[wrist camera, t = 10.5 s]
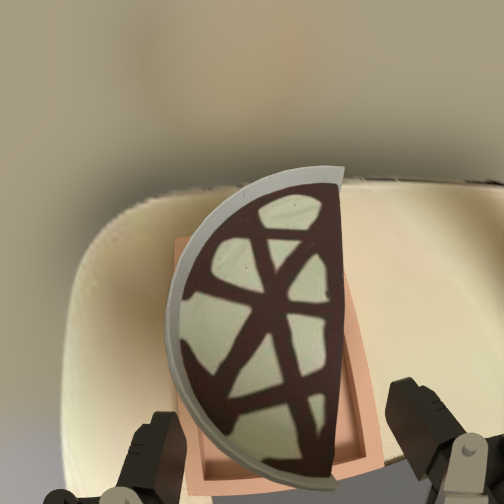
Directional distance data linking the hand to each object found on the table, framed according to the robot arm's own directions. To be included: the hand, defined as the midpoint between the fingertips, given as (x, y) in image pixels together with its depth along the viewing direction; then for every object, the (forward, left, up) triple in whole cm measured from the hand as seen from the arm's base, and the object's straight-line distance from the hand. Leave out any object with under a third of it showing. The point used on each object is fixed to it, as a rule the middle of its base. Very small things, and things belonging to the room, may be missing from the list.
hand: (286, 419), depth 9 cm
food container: (+1, -4, -7) cm, 8 cm away
